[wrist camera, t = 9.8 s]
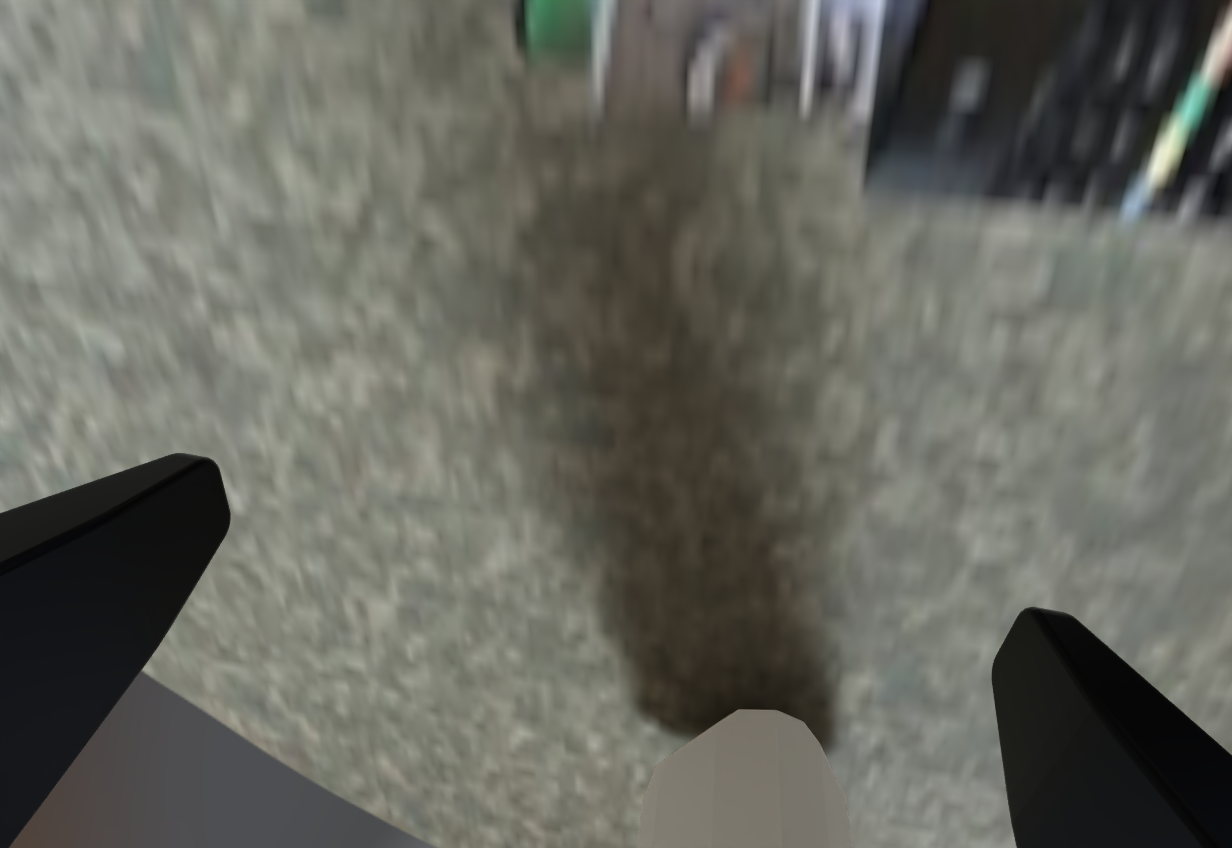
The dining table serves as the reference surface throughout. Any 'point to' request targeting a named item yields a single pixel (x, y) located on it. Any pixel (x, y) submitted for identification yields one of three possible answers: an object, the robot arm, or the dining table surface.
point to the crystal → (746, 789)
